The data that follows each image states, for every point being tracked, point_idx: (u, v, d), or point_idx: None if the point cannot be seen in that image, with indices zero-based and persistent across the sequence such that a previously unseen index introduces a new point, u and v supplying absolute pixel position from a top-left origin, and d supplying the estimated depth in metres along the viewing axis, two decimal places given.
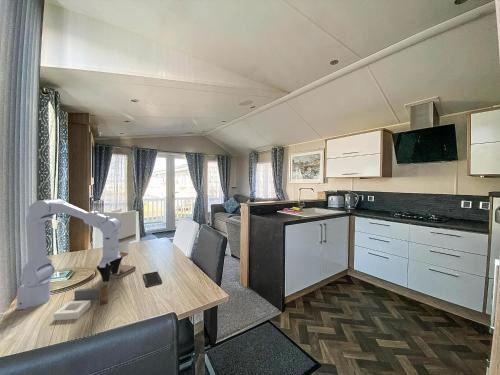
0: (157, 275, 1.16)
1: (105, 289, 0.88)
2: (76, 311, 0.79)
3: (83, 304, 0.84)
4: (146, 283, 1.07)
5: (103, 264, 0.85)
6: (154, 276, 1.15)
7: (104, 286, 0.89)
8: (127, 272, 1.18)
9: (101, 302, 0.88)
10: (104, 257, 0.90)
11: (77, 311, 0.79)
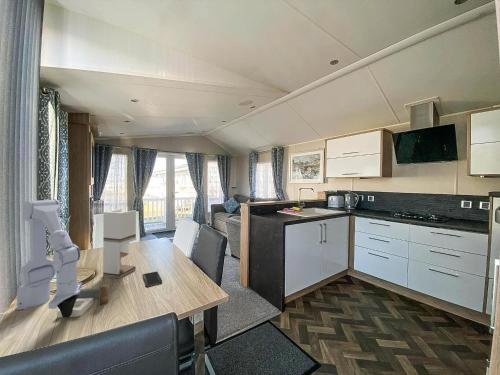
0: (157, 275, 1.16)
1: (105, 289, 0.88)
2: (79, 308, 0.81)
3: (86, 302, 0.85)
4: (146, 283, 1.07)
5: (53, 305, 0.71)
6: (154, 276, 1.15)
7: (104, 286, 0.89)
8: (127, 272, 1.18)
9: (101, 302, 0.88)
10: (58, 294, 0.76)
11: (80, 308, 0.81)
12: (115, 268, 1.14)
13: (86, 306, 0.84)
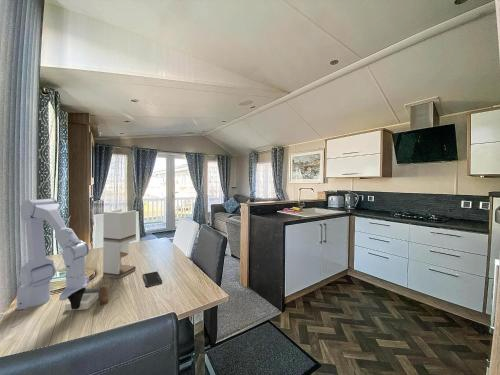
0: (157, 275, 1.16)
1: (105, 289, 0.88)
2: (86, 302, 0.85)
3: (92, 296, 0.90)
4: (146, 283, 1.07)
5: (64, 297, 0.76)
6: (154, 276, 1.15)
7: (104, 286, 0.89)
8: (127, 272, 1.18)
9: (101, 302, 0.88)
10: (67, 287, 0.81)
11: (87, 302, 0.85)
12: (115, 268, 1.14)
13: (92, 300, 0.88)
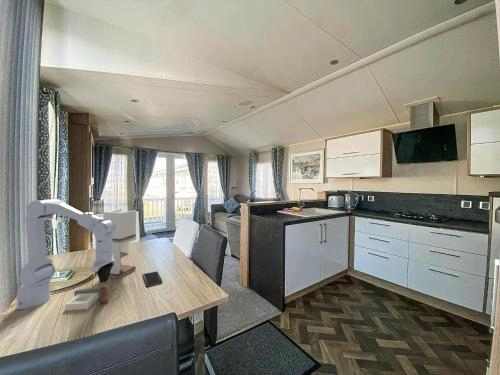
0: (157, 275, 1.16)
1: (105, 289, 0.88)
2: (86, 302, 0.85)
3: (92, 296, 0.90)
4: (146, 283, 1.07)
5: (96, 268, 0.82)
6: (154, 276, 1.15)
7: (104, 286, 0.89)
8: (127, 272, 1.18)
9: (101, 302, 0.88)
10: (97, 261, 0.86)
11: (87, 302, 0.85)
12: (115, 268, 1.14)
13: (92, 300, 0.88)
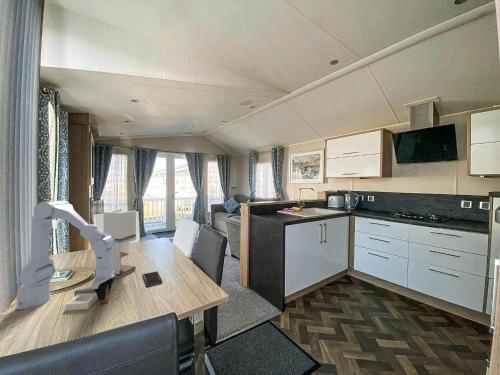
0: (157, 275, 1.16)
1: None
2: (86, 302, 0.85)
3: (92, 296, 0.90)
4: (146, 283, 1.07)
5: (96, 285, 0.82)
6: (154, 276, 1.15)
7: None
8: (127, 272, 1.18)
9: (101, 302, 0.88)
10: (97, 277, 0.86)
11: (87, 302, 0.85)
12: (115, 268, 1.14)
13: (92, 300, 0.88)
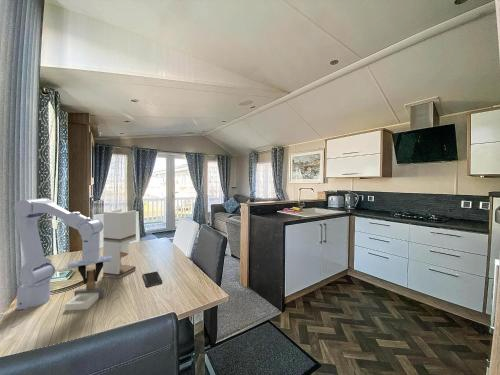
0: (157, 275, 1.16)
1: (87, 274, 0.87)
2: (86, 302, 0.85)
3: (92, 296, 0.90)
4: (146, 283, 1.07)
5: None
6: (154, 276, 1.15)
7: (91, 270, 0.88)
8: (127, 272, 1.18)
9: (86, 285, 0.88)
10: None
11: (87, 302, 0.85)
12: (115, 268, 1.14)
13: (92, 300, 0.88)
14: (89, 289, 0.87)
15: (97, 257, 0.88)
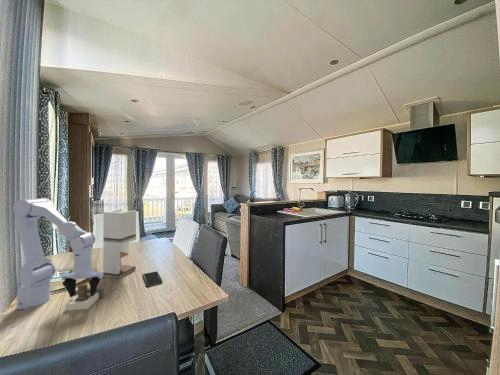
0: (157, 275, 1.16)
1: (78, 289, 0.87)
2: (86, 302, 0.85)
3: (92, 296, 0.90)
4: (146, 283, 1.07)
5: None
6: (154, 276, 1.15)
7: (82, 286, 0.87)
8: (127, 272, 1.18)
9: None
10: None
11: (87, 302, 0.85)
12: (115, 268, 1.14)
13: (92, 300, 0.88)
14: None
15: (85, 272, 0.86)
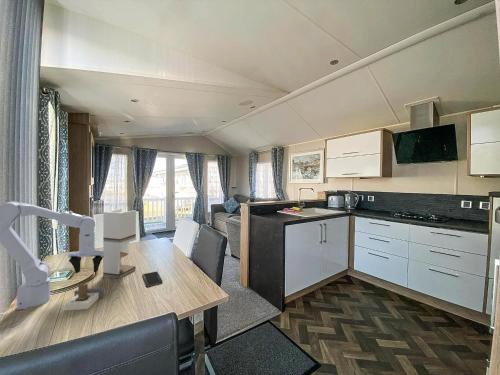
0: (157, 275, 1.16)
1: (78, 289, 0.87)
2: (86, 302, 0.85)
3: (92, 296, 0.90)
4: (146, 283, 1.07)
5: None
6: (154, 276, 1.15)
7: (82, 285, 0.88)
8: (127, 272, 1.18)
9: None
10: None
11: (87, 302, 0.85)
12: (115, 268, 1.14)
13: (92, 300, 0.88)
14: None
15: (89, 251, 0.97)
